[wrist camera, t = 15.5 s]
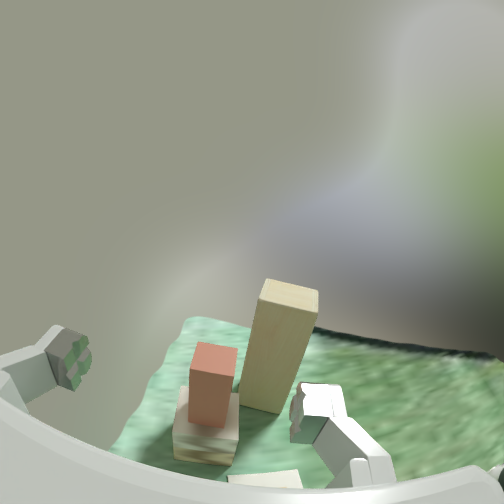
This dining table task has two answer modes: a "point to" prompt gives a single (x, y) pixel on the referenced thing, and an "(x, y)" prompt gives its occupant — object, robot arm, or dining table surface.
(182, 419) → the tower base
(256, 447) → the dining table surface
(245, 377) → the tall beige pillar
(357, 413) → the dining table surface
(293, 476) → the page
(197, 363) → the tall brick
